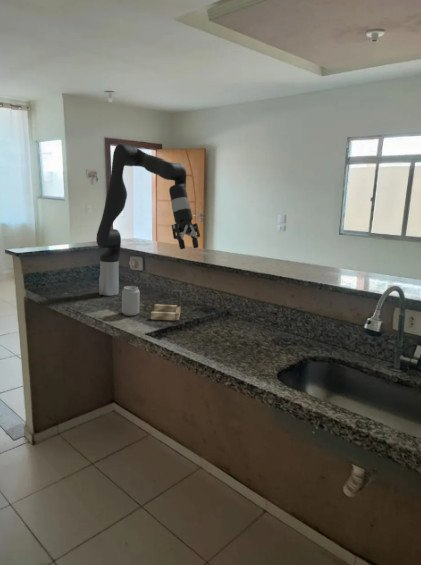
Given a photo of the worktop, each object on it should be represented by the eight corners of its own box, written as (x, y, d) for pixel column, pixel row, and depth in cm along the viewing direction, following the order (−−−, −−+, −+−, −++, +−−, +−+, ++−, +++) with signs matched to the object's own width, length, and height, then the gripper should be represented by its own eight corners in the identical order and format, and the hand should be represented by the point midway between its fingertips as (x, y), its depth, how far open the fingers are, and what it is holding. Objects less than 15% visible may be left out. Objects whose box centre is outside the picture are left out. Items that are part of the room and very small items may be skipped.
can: (142, 313, 178) (143, 286, 176) (132, 317, 172) (132, 290, 169) (128, 310, 181) (128, 284, 179) (118, 314, 175) (118, 287, 172)
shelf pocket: (150, 319, 170) (151, 296, 168) (154, 310, 183) (155, 289, 181) (178, 320, 171) (179, 297, 168) (180, 311, 183) (181, 290, 181)
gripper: (186, 213, 175) (193, 249, 175) (163, 212, 164) (171, 251, 163) (199, 208, 170) (207, 245, 170) (176, 207, 159) (185, 247, 159)
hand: (189, 248), depth 167 cm, fingers open, 8 cm apart
